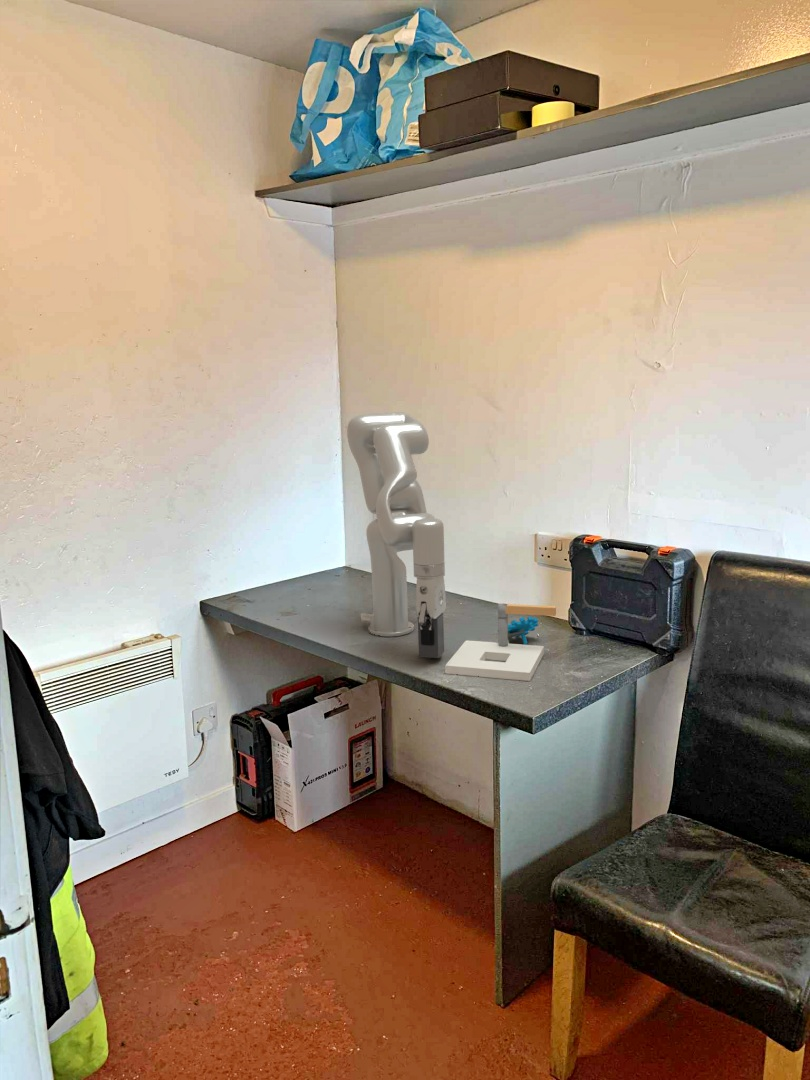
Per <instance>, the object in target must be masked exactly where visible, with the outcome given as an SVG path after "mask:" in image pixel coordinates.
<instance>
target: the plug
mask: <svg viewBox="0 0 810 1080" xmlns="http://www.w3.org/2000/svg"><path fill="white" fill-rule="evenodd" d="M426 617H430V616H429V615H426ZM426 621H428V623H429V620H426ZM444 628H445V626H444V612H442V613H441V614H440V615H439V616H438V617H437V618H436V619H433V627H432V629H434V645H433V646H429V645H422V644H421V629H420V623H419V617H418V616H417V634H418V635H417V639H418V641H417V642H418V657H422V658H432V659H433V658H434V659H439V658H440V657H441V656H442V654H444V652H445V632H444V631H445V629H444Z"/></svg>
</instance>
